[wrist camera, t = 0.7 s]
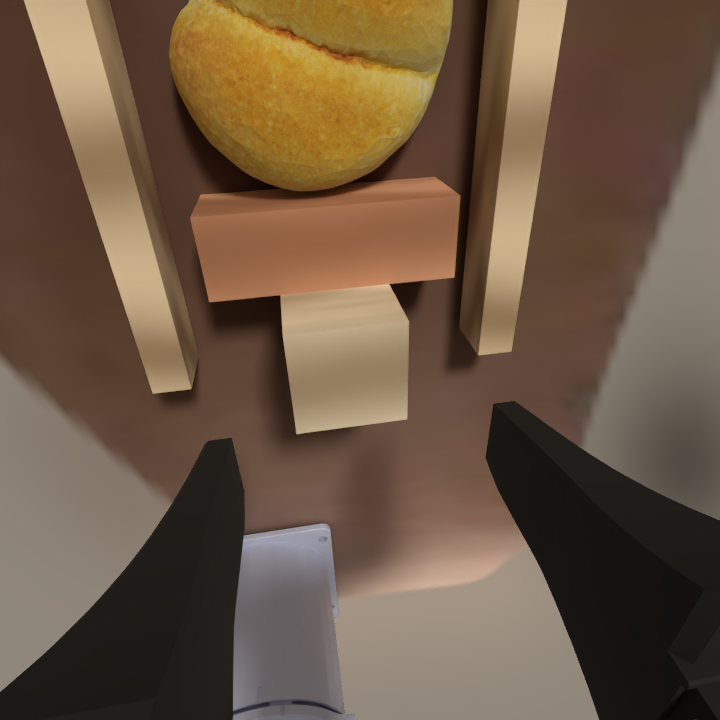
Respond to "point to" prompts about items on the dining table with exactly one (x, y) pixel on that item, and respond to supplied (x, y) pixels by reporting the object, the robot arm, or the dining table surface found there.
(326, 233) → the two-tone t block
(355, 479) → the dining table surface
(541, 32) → the slot rails
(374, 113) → the bread roll
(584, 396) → the dining table surface
